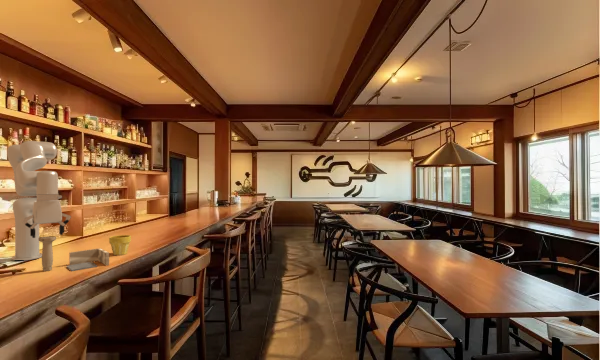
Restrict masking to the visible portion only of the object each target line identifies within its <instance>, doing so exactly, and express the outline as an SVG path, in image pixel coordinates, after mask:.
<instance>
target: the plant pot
mask: <svg viewBox="0 0 600 360" xmlns="http://www.w3.org/2000/svg"><path fill="white" fill-rule="evenodd" d="M108 239H109V240H108V242H109V244H110V247H111V251H112V255H113V256H124V255H126V254H128V251H129V247H130V246H129V245H130V243H131V241H132V235H131V234H118V235H112V236H109V237H108Z"/></svg>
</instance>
